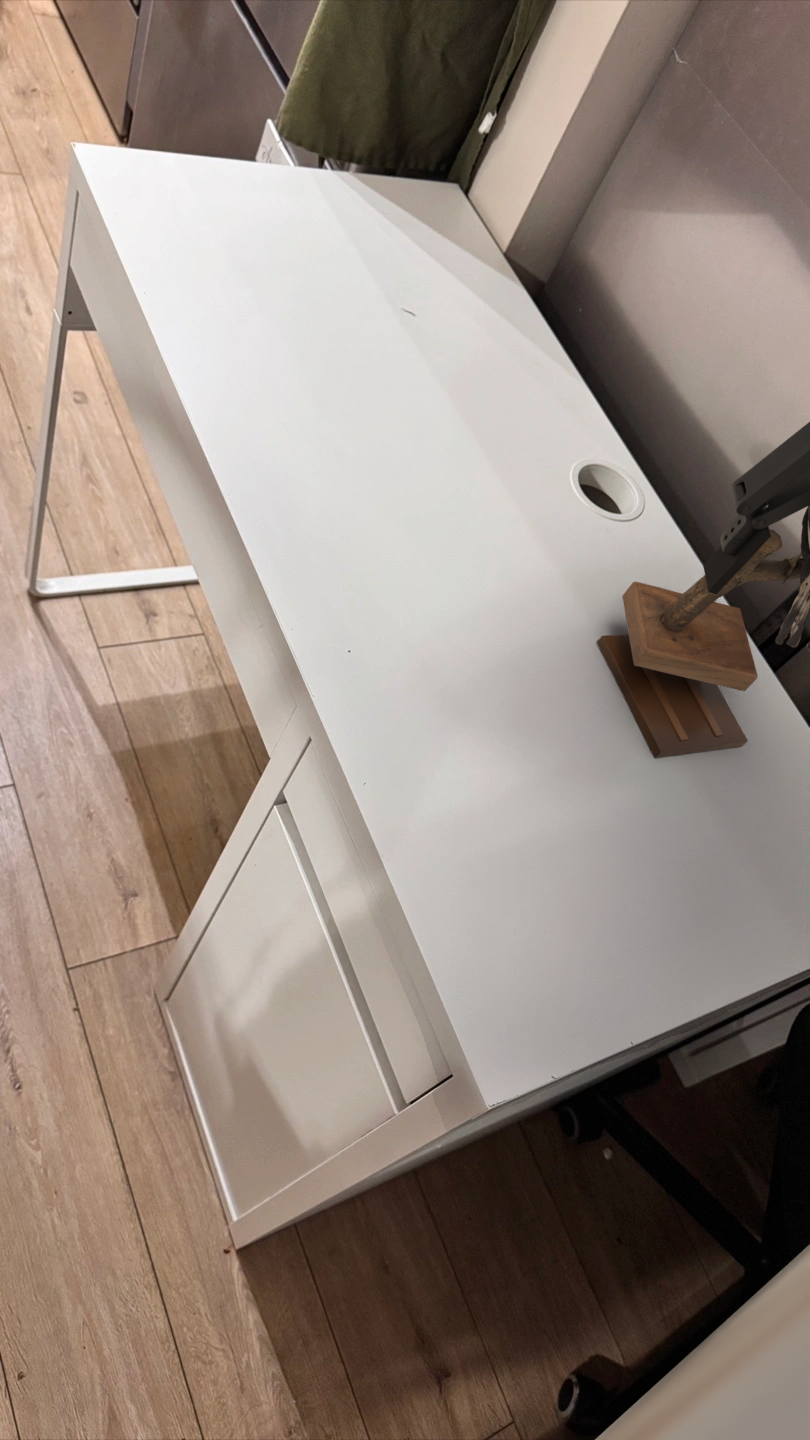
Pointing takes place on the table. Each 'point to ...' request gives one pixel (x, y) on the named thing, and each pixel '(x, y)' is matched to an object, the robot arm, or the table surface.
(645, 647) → the bird figurine
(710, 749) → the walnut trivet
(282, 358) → the table surface
